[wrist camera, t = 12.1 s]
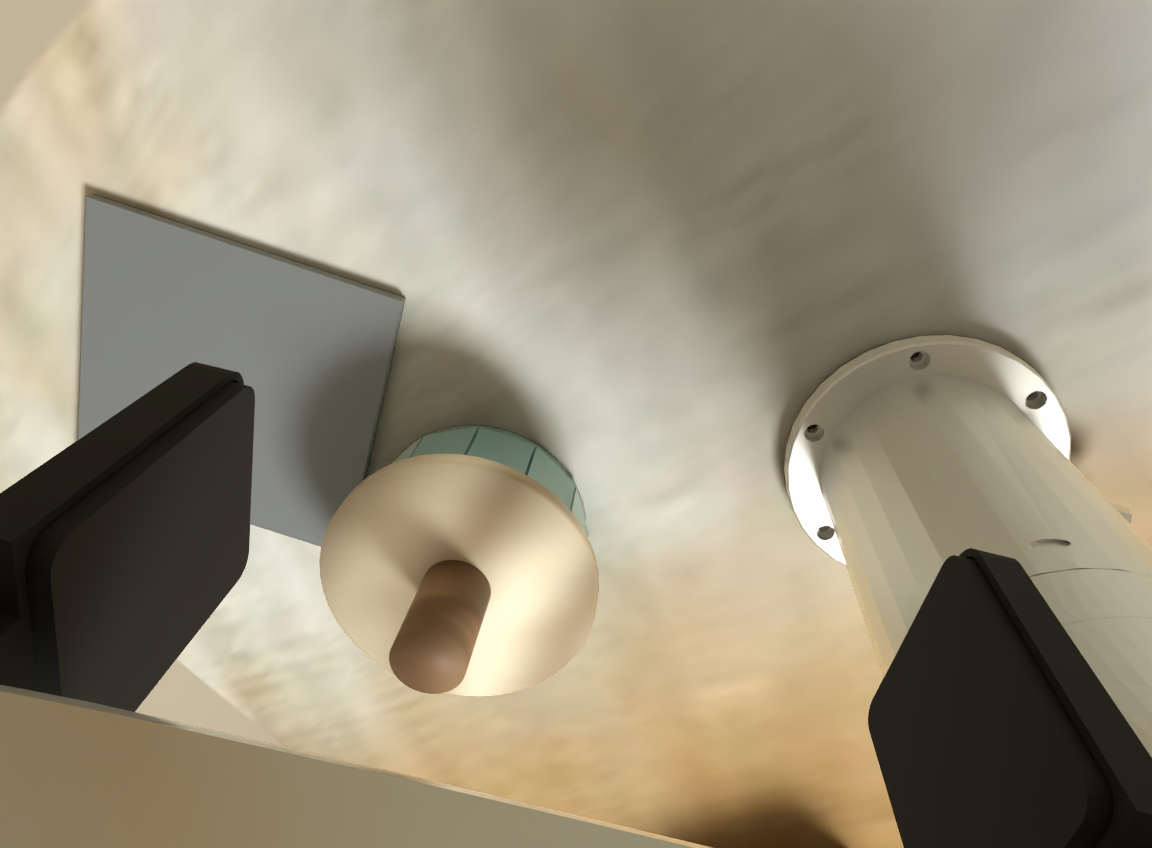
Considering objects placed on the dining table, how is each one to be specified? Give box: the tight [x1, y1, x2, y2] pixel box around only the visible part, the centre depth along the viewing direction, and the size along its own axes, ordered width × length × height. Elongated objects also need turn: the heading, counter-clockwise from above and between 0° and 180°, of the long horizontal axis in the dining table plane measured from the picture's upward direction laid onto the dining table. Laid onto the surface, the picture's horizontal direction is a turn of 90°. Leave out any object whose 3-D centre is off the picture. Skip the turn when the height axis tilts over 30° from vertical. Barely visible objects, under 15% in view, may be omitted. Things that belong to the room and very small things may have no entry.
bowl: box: [391, 425, 588, 537], centre depth 40 cm, size 11×11×5 cm
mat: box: [78, 194, 405, 546], centre depth 40 cm, size 15×15×1 cm
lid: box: [320, 454, 599, 696], centre depth 35 cm, size 13×13×6 cm
